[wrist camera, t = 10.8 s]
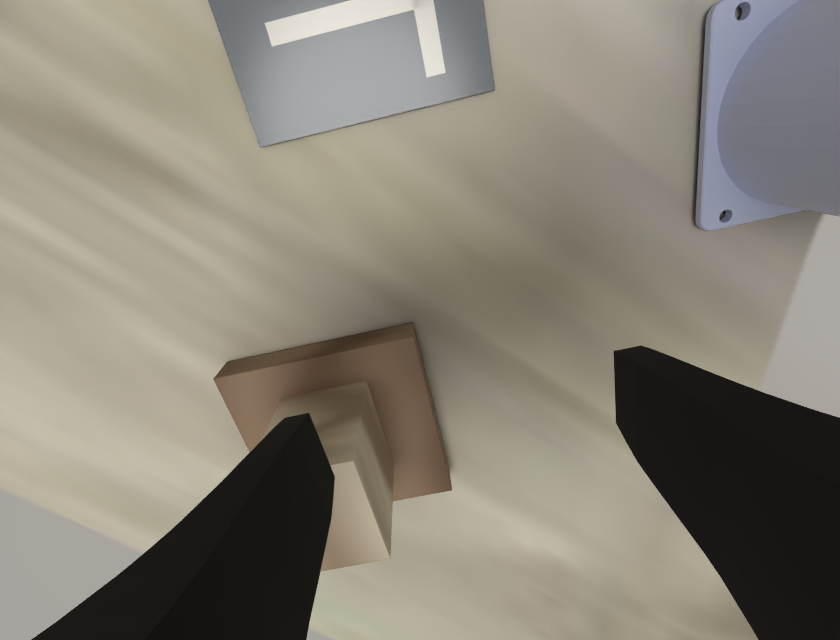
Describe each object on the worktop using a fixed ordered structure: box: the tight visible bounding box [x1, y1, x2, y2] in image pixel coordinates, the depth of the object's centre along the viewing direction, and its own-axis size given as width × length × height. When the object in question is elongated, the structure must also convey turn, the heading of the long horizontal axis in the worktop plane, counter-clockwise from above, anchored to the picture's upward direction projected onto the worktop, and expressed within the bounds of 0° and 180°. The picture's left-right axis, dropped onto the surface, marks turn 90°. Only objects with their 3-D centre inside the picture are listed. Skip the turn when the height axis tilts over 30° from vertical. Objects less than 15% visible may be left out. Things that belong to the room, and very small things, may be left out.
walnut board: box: [214, 323, 452, 501], centre depth 20 cm, size 9×9×2 cm
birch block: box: [261, 381, 394, 571], centre depth 17 cm, size 4×5×5 cm
